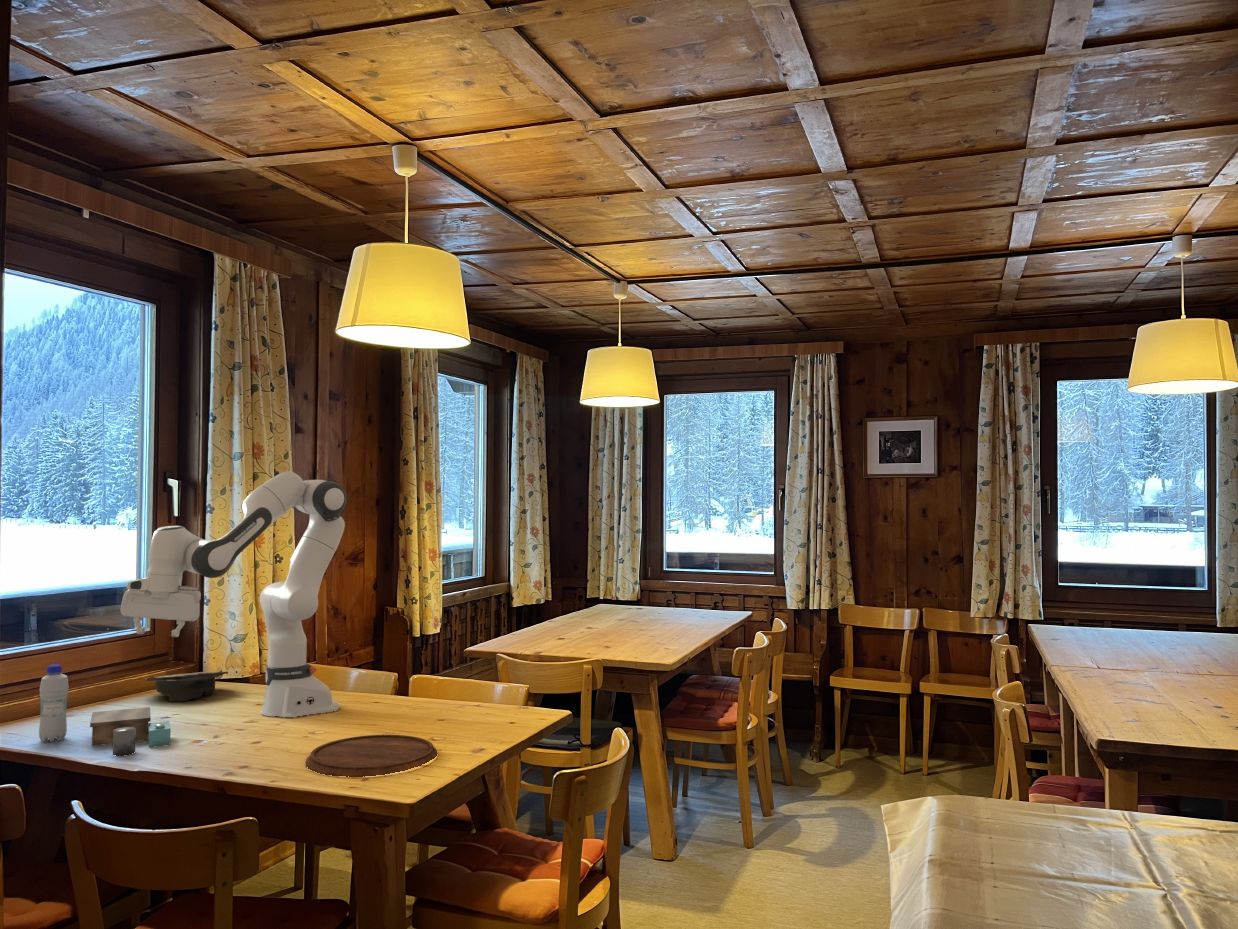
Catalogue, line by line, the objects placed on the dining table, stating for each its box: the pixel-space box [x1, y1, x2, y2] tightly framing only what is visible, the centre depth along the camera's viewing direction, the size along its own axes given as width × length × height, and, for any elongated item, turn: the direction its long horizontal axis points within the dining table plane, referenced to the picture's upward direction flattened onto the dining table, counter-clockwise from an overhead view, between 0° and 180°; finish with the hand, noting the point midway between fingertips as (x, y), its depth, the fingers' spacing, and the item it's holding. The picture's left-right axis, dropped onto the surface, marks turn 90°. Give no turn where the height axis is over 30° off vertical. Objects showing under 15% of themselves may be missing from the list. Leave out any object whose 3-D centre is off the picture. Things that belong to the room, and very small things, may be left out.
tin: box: [112, 727, 137, 757], centre depth 230 cm, size 5×5×6 cm
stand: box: [89, 706, 152, 747], centre depth 245 cm, size 14×14×6 cm
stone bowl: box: [144, 671, 229, 703], centre depth 297 cm, size 25×25×9 cm
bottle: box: [38, 664, 70, 743], centre depth 243 cm, size 7×7×20 cm
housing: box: [147, 720, 172, 748], centre depth 241 cm, size 5×9×5 cm, turn 28°
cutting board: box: [304, 734, 439, 777], centre depth 227 cm, size 32×32×3 cm
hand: (157, 635), depth 248 cm, fingers open, 8 cm apart
